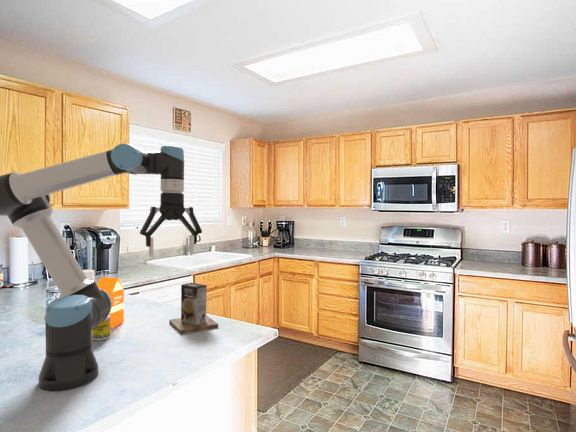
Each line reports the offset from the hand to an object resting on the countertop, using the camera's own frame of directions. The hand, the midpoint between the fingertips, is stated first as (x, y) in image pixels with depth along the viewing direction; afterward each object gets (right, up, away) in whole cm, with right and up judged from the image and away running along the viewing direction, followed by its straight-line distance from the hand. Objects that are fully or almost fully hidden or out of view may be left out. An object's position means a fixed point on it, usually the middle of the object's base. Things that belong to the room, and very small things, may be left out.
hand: (172, 255), depth 123 cm
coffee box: (-1, -32, +33) cm, 46 cm away
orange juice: (-38, -33, +34) cm, 61 cm away
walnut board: (-1, -34, +33) cm, 47 cm away
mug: (-84, -31, +96) cm, 132 cm away
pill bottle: (-33, -34, +17) cm, 50 cm away
